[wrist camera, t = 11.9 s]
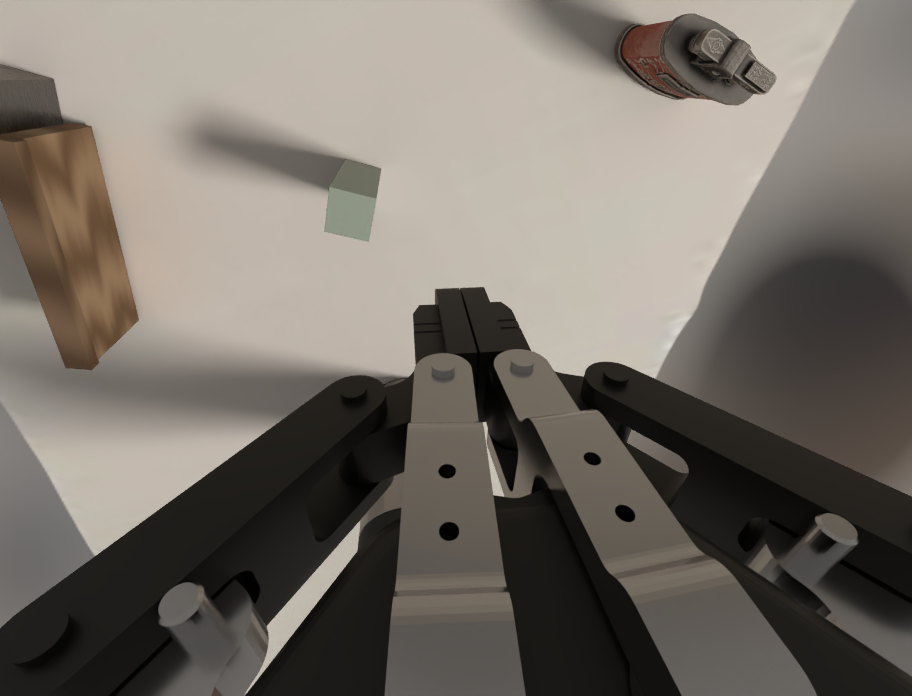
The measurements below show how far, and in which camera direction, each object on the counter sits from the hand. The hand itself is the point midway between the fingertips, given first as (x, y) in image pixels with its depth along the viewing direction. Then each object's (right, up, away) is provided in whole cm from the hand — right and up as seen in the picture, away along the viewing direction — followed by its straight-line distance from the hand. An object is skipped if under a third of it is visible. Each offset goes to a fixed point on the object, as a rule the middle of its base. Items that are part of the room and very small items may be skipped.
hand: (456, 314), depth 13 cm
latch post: (-8, +13, +23) cm, 28 cm away
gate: (-30, +9, +22) cm, 38 cm away
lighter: (+16, +22, +20) cm, 34 cm away
